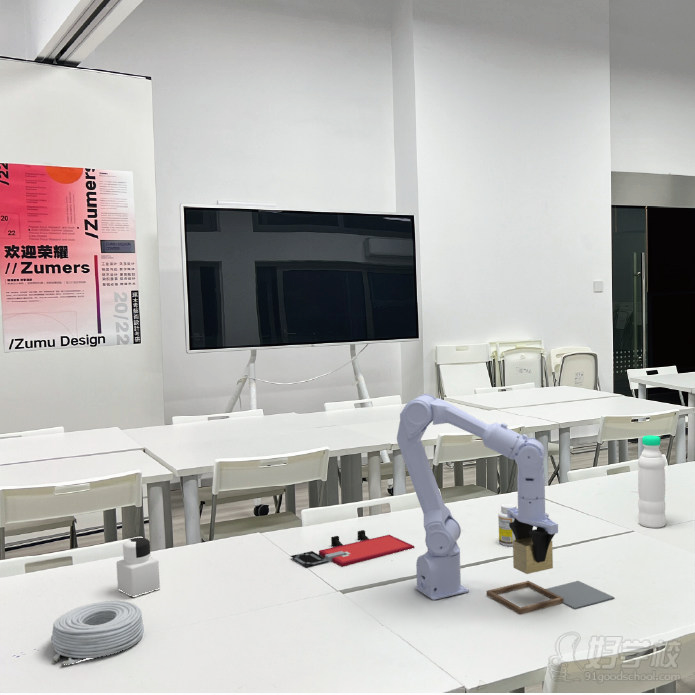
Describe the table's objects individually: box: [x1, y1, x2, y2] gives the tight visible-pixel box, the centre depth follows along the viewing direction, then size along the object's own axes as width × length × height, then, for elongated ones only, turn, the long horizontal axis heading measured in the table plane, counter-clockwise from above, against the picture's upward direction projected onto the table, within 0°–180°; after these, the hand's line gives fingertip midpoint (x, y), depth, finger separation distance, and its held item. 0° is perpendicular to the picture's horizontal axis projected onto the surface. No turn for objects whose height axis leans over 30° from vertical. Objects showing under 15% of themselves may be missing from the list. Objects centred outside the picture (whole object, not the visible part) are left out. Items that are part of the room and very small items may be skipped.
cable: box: [50, 599, 145, 665], centre depth 151 cm, size 18×18×6 cm
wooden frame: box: [486, 580, 564, 615], centre depth 165 cm, size 12×12×1 cm
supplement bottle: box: [497, 503, 517, 547], centre depth 201 cm, size 6×6×10 cm
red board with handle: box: [290, 529, 415, 568], centre depth 199 cm, size 30×3×15 cm
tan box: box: [512, 537, 554, 575], centre depth 165 cm, size 7×4×6 cm, turn 115°
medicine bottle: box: [115, 537, 161, 596], centre depth 177 cm, size 7×7×12 cm
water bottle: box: [637, 434, 666, 529], centre depth 212 cm, size 7×7×25 cm
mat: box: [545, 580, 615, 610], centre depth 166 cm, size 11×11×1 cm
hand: (532, 557), depth 165 cm, fingers closed on tan box, 4 cm apart
